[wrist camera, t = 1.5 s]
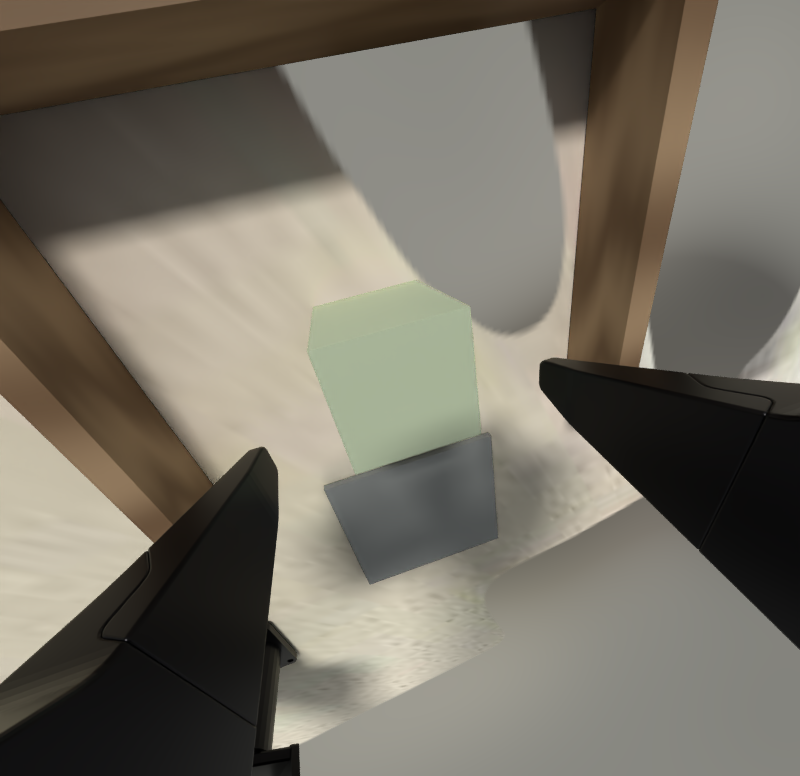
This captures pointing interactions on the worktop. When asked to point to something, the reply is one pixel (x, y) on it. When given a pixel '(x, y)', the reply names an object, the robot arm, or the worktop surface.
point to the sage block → (396, 372)
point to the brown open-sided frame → (288, 43)
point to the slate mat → (418, 508)
